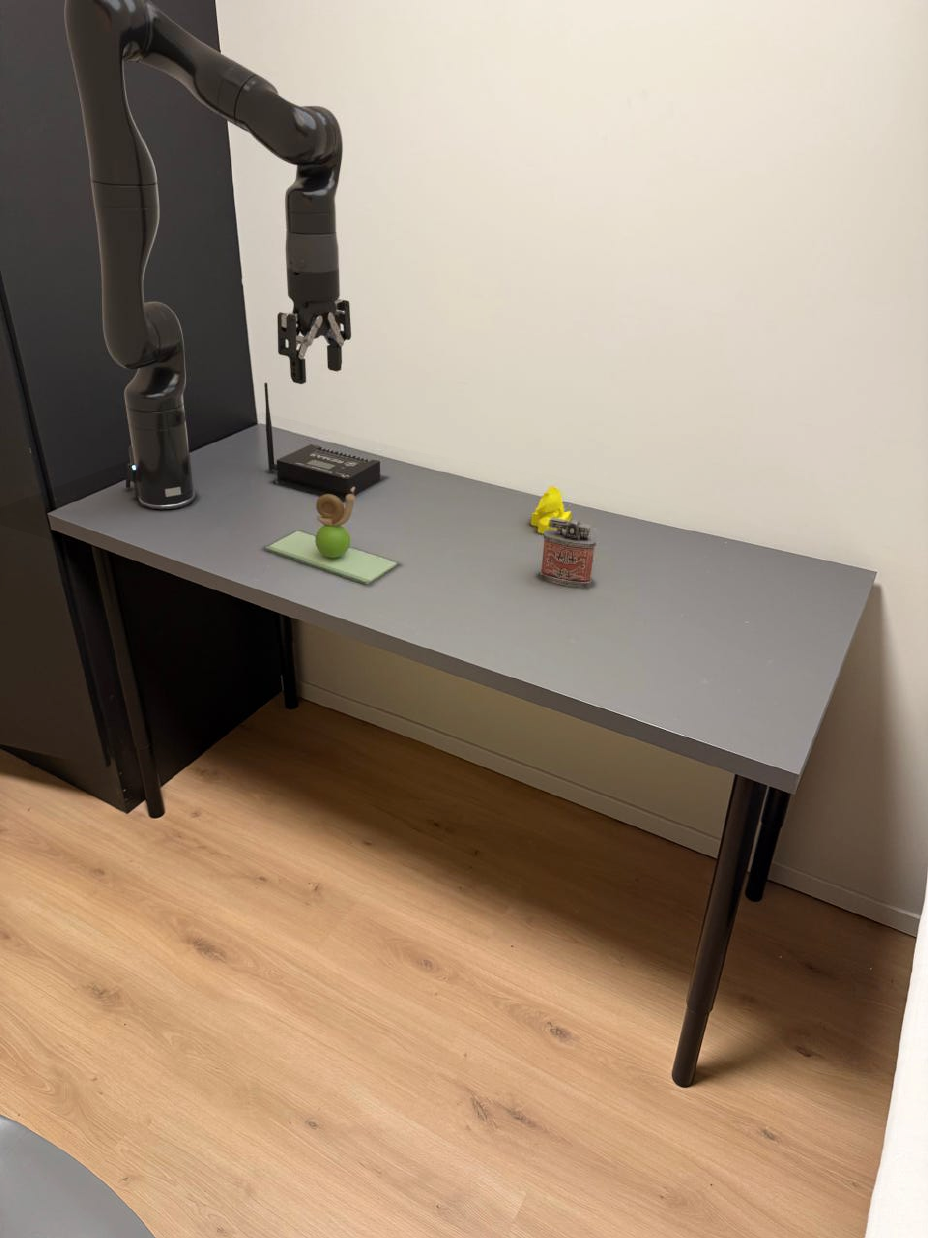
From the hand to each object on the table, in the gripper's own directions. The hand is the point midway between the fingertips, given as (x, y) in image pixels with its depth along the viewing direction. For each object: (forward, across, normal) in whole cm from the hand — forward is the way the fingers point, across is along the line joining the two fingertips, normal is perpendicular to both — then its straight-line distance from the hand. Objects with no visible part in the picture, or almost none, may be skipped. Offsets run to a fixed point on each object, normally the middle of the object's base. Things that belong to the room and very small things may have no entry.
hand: (317, 376), depth 141 cm
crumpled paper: (+26, -25, +30) cm, 47 cm away
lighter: (+26, -8, +41) cm, 49 cm away
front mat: (+26, +7, +7) cm, 28 cm away
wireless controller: (+26, -18, -15) cm, 35 cm away
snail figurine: (+26, +7, +8) cm, 28 cm away
